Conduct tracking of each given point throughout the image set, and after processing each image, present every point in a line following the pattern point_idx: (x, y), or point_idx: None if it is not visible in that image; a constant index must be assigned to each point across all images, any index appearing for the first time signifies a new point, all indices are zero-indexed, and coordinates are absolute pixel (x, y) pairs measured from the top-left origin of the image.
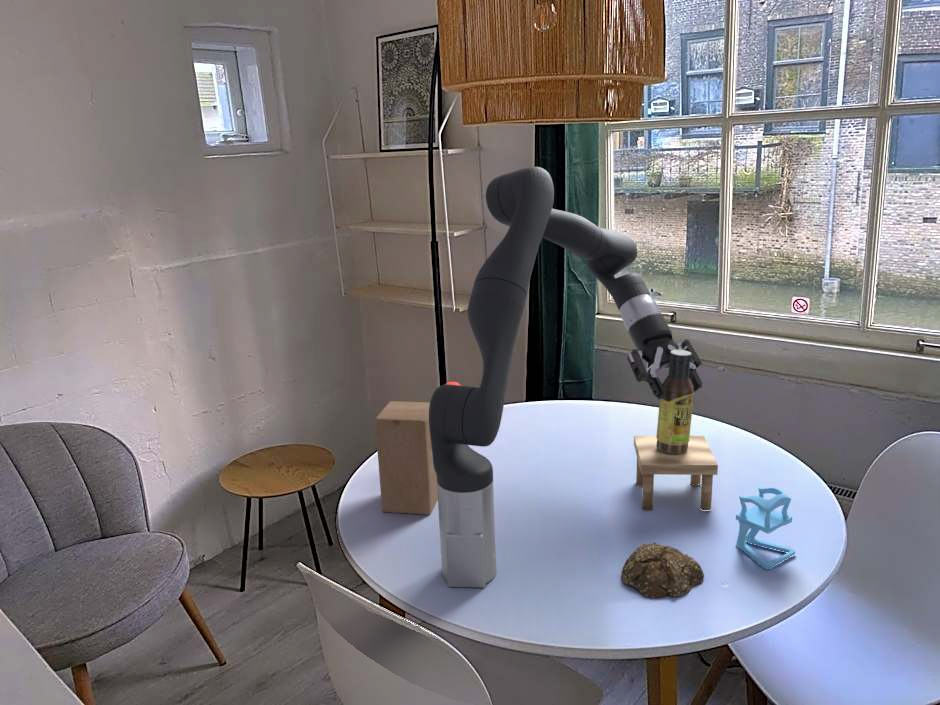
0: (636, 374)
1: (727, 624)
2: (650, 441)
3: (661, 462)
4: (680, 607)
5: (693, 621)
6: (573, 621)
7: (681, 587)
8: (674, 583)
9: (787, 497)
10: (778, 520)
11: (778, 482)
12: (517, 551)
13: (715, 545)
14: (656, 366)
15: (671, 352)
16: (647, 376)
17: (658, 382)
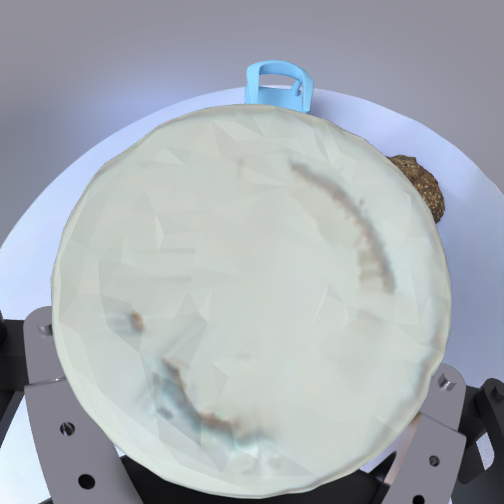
0: (476, 453)
1: (391, 113)
2: None
3: None
4: (413, 150)
5: (413, 134)
6: (489, 204)
7: (406, 156)
8: (413, 159)
9: (263, 61)
10: (267, 92)
11: (52, 247)
12: (490, 335)
13: None
14: (437, 422)
15: (428, 377)
16: (469, 391)
17: None
